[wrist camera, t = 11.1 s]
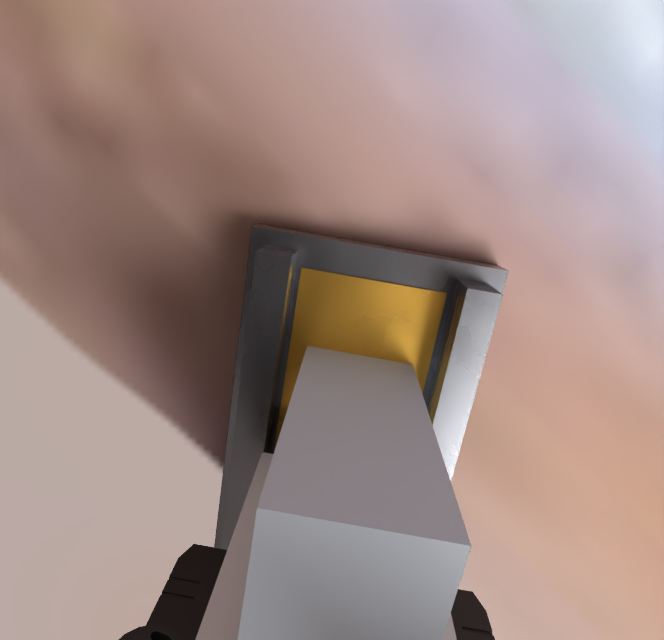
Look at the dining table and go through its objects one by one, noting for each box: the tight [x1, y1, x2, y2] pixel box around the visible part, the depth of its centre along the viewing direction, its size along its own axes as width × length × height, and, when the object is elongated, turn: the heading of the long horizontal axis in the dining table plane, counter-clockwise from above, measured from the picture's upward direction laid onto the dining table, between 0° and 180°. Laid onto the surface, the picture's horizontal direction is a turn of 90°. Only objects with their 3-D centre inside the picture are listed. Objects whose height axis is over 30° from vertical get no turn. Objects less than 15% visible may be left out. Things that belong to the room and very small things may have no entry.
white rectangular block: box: [238, 346, 471, 640], centre depth 13 cm, size 9×4×8 cm, turn 170°
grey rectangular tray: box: [214, 224, 508, 550], centre depth 16 cm, size 17×8×2 cm, turn 170°
